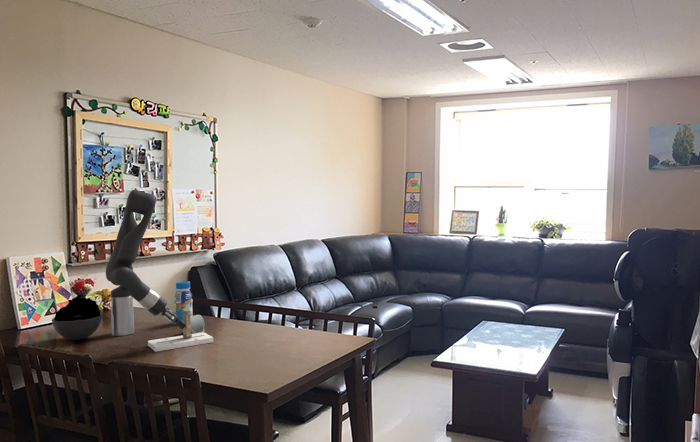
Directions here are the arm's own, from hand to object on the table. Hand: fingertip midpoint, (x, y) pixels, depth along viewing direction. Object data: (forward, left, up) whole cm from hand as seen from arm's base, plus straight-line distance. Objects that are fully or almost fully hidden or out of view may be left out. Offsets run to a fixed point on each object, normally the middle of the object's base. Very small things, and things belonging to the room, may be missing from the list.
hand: (183, 327), depth 244 cm
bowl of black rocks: (-46, +23, -7) cm, 52 cm away
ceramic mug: (+4, +18, -7) cm, 20 cm away
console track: (-1, 0, -7) cm, 7 cm away
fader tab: (+1, 0, -4) cm, 5 cm away
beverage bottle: (-2, +43, -7) cm, 43 cm away
